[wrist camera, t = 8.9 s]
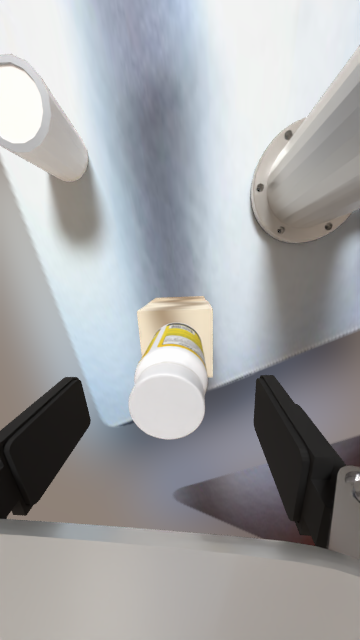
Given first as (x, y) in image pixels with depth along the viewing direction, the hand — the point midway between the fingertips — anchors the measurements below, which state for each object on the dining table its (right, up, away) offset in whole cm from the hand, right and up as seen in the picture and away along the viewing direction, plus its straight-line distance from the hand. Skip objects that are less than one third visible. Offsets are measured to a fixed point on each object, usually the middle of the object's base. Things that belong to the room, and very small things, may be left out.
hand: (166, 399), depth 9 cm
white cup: (-14, +25, +13) cm, 31 cm away
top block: (+1, +3, +13) cm, 13 cm away
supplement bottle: (0, +2, +8) cm, 8 cm away
